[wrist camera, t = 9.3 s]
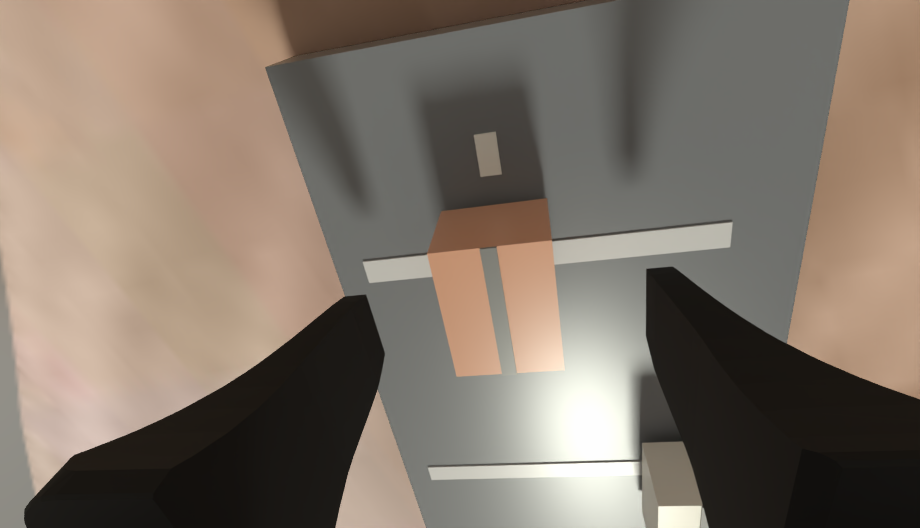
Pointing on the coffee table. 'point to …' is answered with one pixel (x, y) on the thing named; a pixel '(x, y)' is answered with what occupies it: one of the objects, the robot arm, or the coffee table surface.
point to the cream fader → (670, 488)
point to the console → (564, 218)
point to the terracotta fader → (498, 288)
